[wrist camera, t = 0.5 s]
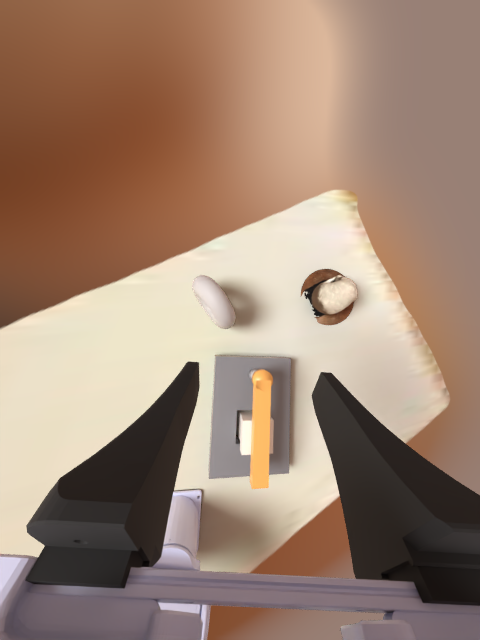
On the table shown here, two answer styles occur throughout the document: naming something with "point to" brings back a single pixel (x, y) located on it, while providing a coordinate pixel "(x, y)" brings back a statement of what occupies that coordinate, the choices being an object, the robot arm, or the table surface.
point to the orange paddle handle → (260, 429)
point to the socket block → (238, 395)
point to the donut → (214, 301)
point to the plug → (249, 431)
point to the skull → (330, 295)
